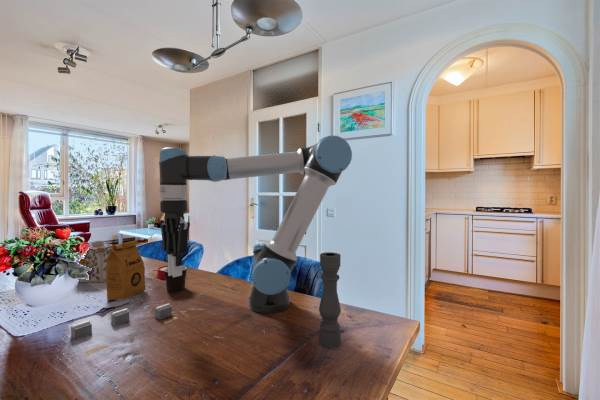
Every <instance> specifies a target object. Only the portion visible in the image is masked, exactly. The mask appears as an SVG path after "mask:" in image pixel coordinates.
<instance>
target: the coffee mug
mask: <svg viewBox="0 0 600 400" xmlns="http://www.w3.org/2000/svg"><path fill="white" fill-rule="evenodd" d="M187 271H188V268H187V266H183V265H182V275H181V276H177V277H172V275H171V276H168V268H166V269H164V274H165V279H164V280H165V286H166V292H167V293H180V292H182V291H184V290H185V289H186V279H187Z"/></svg>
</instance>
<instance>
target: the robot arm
mask: <svg viewBox="0 0 600 400" xmlns="http://www.w3.org/2000/svg"><path fill="white" fill-rule="evenodd" d="M352 160H353V152H352V149H351V145H350V144H349V142H348V141H347V140H345V138H343V137H341V136H339V135H327V136H324V137H322V138H321V139H319V141H318V142H317V143H316V144H313V145H312V146H311V145H310V146H307V147H303V148H302V147H300V148H298V149H297V151H291V152H281V153H280V152H279V153H269V154H268V153H267V154H259V155H249V156H239V157H231V158H230V157H229V158H226V157H225V156H222V155H220V156H218V155H188V154H187V151H186V150H185V149H183V148H180V147H164V148H161V149H160V150H159V162H158V165H159V189H158V190H159V192H160V193H159V196H160V199H161V200H160V201H159V205H160V206H159V207H160V208H159V209H160V210H159V211H160V213H163V214H164V217H163V219H160V220H159V225H160V229H161V230H160V231H161V241H162V250H163V252H165V253H166V254H167V266H168V276H171V275H172V277H177V276H181V275H182V266H183V255H184V254H187V253H188V241H189V240H188V239H189V229H190V226H191V224H190V222H189V221H186V220H185V215H184V213H186V212H188V201H187V199H188V185H187V182H188V181H210V182H215V183H216V182H217V183H218V182H221V181H227V180H228V181H229V180H237V179H245V178H246V179H247V178H255V177H265V176H273V175H274V176H275V175H276V176H277V175H286V174H292V173H293V174H294V173H300V175H304V177H303V179H302V182H301V183H300V185H299V187H298V188H297V191H296V193H295V195H294V196H293V199H292V201H291V202H290V205H289V207H288V208H287V210H286V212H285V214H284V216H283V218H282V221H281V222H280V224H279V226H278V228H277V230H276V232H275V234H274V235H273V237H272V240H270V241H266V242H263V243H262V242H261V243H256V244H254V246H253V250H252V253H253V261H252V262H253V263H252V270H251V274H250V275H251V280H252V284H253V286H252V289H251V293H250V296H249V298H248V307H249V309H250V310H252V311H254V312H257V313H260V314H261V313H262V314H273V313H279V312H282V311H284V310H286V309H288V308H289V307H290V304H291V301H290V300H291V299H290V295H289V293H288V289H287V287H288V286H289V283H290V281H291V272H292V271H293V268H294V266H295V265H296V263H297V261H298V257H297V253H296V252H297V250H298V248H299V246H300V245H301V242H302V241H303V240H304V237H305V234H306V233H307V230H308V229H309V227H310V225H311V223H312V221H313V219H314V217H315V215H316V213H317V211H318V209H319V207H320V206H321V203H322V201H323V199H324V197H325V196H326V194H327V191H328V190H329V187H331V186H335V185H336V184H337V182H338V181H339V179H340V176H341V174H342V172H343V171H345V170H346V169H347V168H348V167H349V166H350V164H351V162H352Z"/></svg>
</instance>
